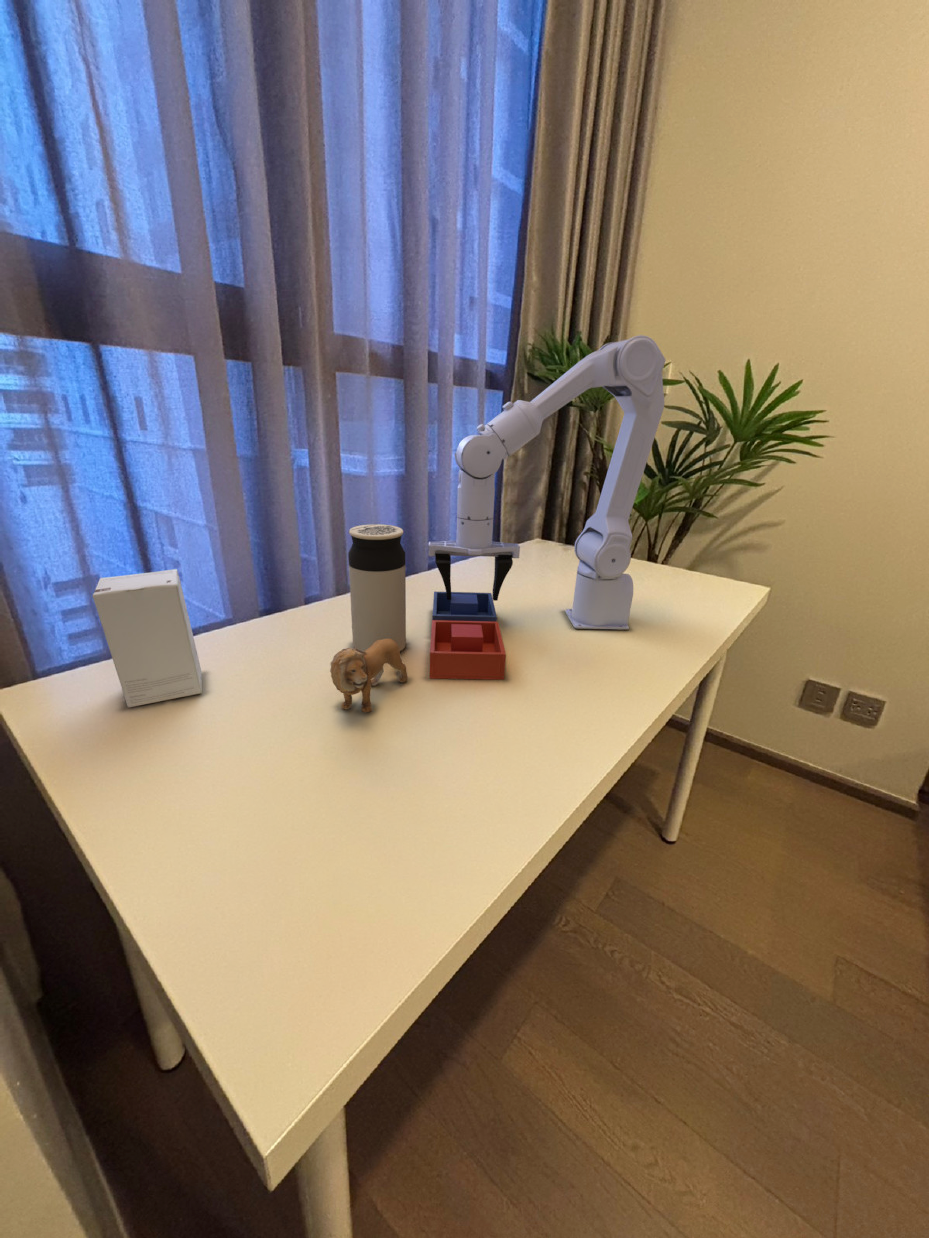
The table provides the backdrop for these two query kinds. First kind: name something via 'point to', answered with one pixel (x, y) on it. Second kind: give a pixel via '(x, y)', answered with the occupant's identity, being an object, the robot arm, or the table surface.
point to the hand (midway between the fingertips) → (472, 598)
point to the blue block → (464, 604)
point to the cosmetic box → (149, 636)
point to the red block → (466, 638)
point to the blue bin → (484, 614)
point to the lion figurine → (364, 670)
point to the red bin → (467, 653)
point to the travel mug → (377, 585)
